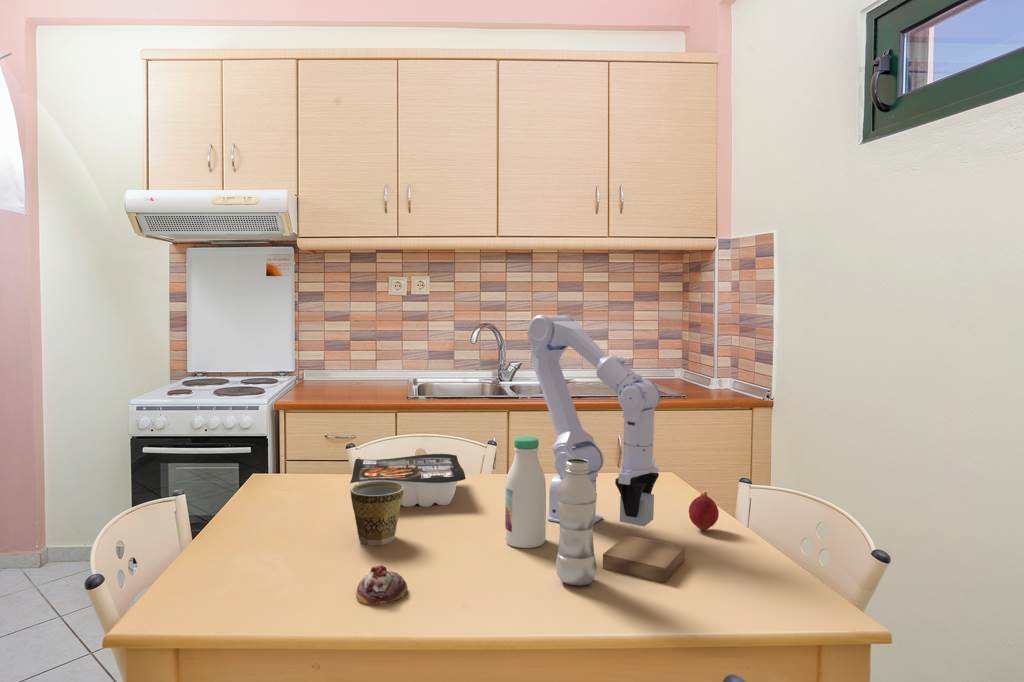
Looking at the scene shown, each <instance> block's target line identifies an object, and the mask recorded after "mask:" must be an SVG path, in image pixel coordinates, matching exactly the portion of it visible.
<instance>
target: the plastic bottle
mask: <svg viewBox="0 0 1024 682" xmlns="http://www.w3.org/2000/svg"><path fill="white" fill-rule="evenodd" d="M565 472H566V473H567V475H566V477H565V478H564V479H563V480H562V482H561V483H560V485H559V486H558V489H557V503H558V510H559V522H558V523H559V539H558V548H557V549H558V552H557V553H556V558H555V559H556V560H555V570H556V575H557V577H558V578H559V579H560V581H561V582H563V583H564V584H567V585H571V586H585V585H589V584H591V583H592V582H593V581H594V579H595V577H596V574H597V568H598V567H597V562H596V555H595V547H594V535H593V533H594V524H593V522H594V512H595V506H597V497H598V496H597V489H596V490H595V487H594V485H593V484H592V482H591V481H590V479H589V478H588V476H587V474H588V473H589V461H588V460H584V459H568V460H566V468H565Z"/></svg>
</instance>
